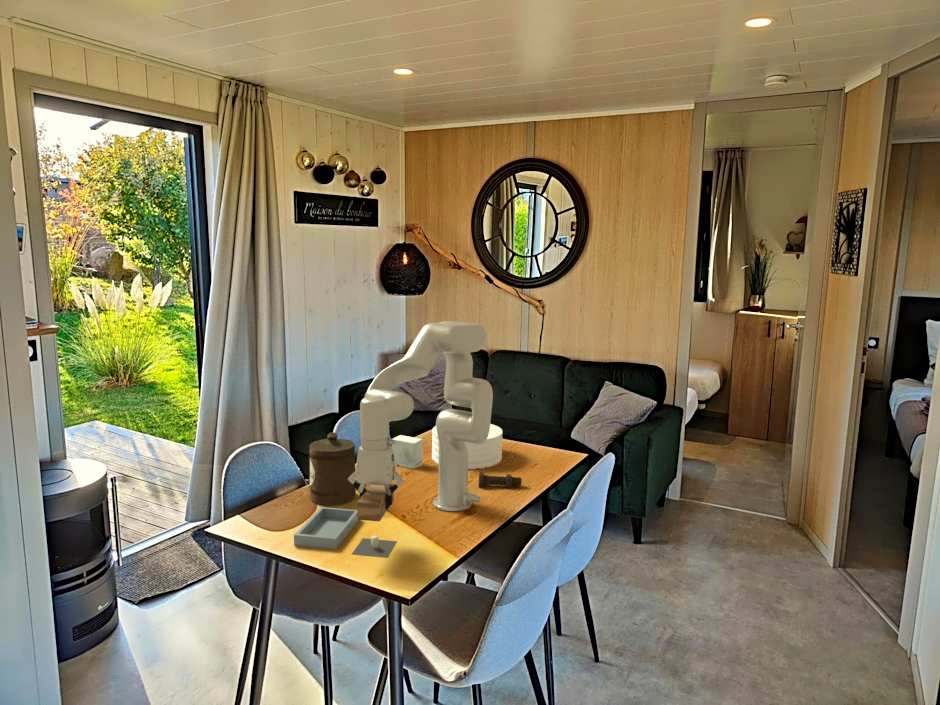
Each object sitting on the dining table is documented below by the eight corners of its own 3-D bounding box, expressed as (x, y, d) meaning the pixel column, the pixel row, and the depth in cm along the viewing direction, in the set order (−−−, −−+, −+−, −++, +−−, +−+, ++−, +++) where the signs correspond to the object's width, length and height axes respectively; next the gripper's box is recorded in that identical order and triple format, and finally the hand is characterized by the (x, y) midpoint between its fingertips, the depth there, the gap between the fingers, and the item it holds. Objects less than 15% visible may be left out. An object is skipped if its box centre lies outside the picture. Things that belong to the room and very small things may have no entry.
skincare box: (391, 465, 250) (391, 438, 248) (400, 460, 256) (400, 434, 254) (414, 469, 245) (414, 442, 244) (423, 464, 251) (423, 438, 249)
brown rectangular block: (379, 521, 170) (379, 503, 169) (357, 519, 171) (357, 501, 170) (393, 500, 184) (393, 483, 183) (373, 498, 185) (373, 481, 184)
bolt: (520, 492, 230) (478, 490, 229) (520, 481, 233) (478, 479, 233) (522, 482, 226) (479, 479, 226) (521, 471, 230) (479, 468, 230)
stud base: (397, 544, 183) (397, 531, 182) (387, 561, 173) (387, 547, 173) (362, 541, 184) (362, 528, 184) (351, 557, 175) (351, 543, 174)
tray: (359, 522, 197) (359, 510, 196) (336, 552, 177) (335, 538, 177) (321, 519, 199) (321, 506, 198) (294, 548, 179) (293, 534, 179)
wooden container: (320, 487, 225) (319, 425, 222) (361, 491, 223) (361, 428, 219) (302, 503, 211) (301, 437, 207) (346, 507, 208) (345, 441, 205)
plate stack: (475, 443, 280) (476, 417, 279) (515, 461, 258) (516, 433, 256) (418, 453, 265) (419, 426, 263) (456, 474, 242) (457, 444, 240)
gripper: (410, 440, 177) (410, 502, 180) (348, 436, 179) (350, 498, 182) (403, 449, 169) (403, 514, 172) (339, 445, 172) (341, 509, 175)
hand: (376, 505), depth 177 cm, fingers closed on brown rectangular block, 6 cm apart
